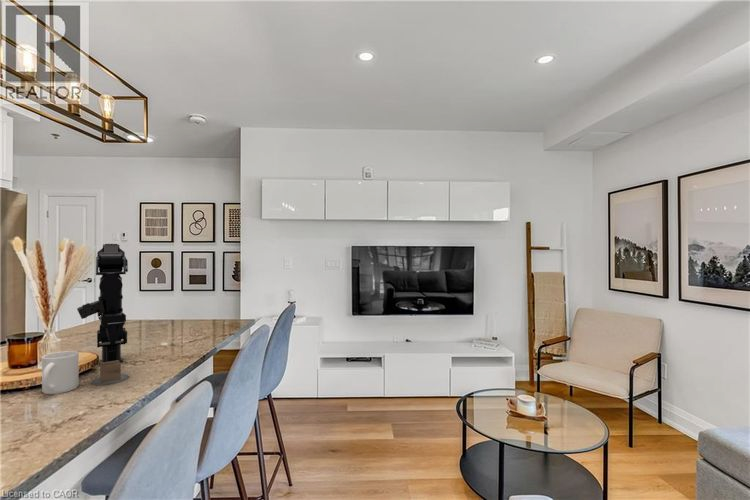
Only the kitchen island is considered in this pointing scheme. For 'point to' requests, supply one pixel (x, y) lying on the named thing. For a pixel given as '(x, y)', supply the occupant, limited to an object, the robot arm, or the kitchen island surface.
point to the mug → (60, 372)
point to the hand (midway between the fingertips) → (111, 341)
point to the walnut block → (110, 371)
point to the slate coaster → (98, 381)
